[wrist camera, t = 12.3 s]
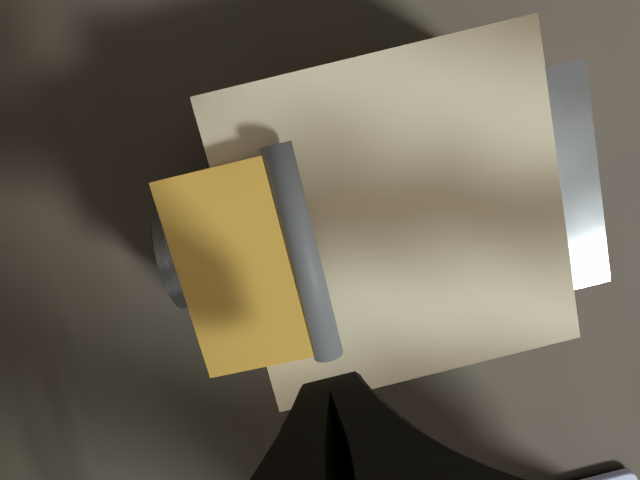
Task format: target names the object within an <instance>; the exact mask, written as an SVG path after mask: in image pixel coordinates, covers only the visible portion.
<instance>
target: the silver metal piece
mask: <svg viewBox="0 0 640 480" xmlns="http://www.w3.org/2000/svg"><path fill="white" fill-rule="evenodd" d="M545 70H546V78H547V85H548V93H549V101H550V109H551V116H552V124H553V132H554V139H555V147H556V155H557V163H558V170H559V178H560V186H561V193H562V201H563V209H564V217H565V224H566V232H567V240H568V247H569V255H570V263H571V271H572V278H573V286H574V290H577V289H581V288H585V287H589V286H593V285H597V284H601V283H605V282H609V281H611V277H610V268H609V259H608V250H607V241H606V232H605V223H604V214H603V205H602V196H601V187H600V178H599V169H598V160H597V151H596V142H595V133H594V124H593V115H592V107H591V98H590V89H589V80H588V71H587V62H586V58H584V59H579V60H575V61H571V62H567V63H563V64H559V65H555V66H551V67H547V68H545ZM151 230H152V242H153V249H154V254H155V258H156V262H157V266H158V269H159V272H160V275H161V278H162V281H163V283H164V286H165V288H166V290H167V292H168V294H169V296H170V297H171V299H172V300H173V302H174V303H175V304H176V305H177V306H178V307H179V308H181V309H186V308H188V306H187V303H186V300H185V297H184V294H183V291H182V287H181V284H180V281H179V278H178V275H177V271H176V268H175V265H174V262H173V259H172V256H171V252H170V249H169V246H168V243H167V240H166V237H165V233H164V230H163V227H162V224H161V221H160V217H159V214H158V211H157V208H156V209H155V211H154V213H153V216H152V226H151Z"/></svg>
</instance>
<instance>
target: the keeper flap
mask: <svg viewBox="0 0 640 480" xmlns="http://www.w3.org/2000/svg"><path fill="white" fill-rule="evenodd" d="M259 149H260V153H261V156H256V157H252V158H248V159H244V160H240V161H236V162H232V163H228V164H224V165H219V166H215V167H211V168H207V169H203V170H199V171H195V172H191V173H186V174H182V175H178V176H174V177H170V178H166V179H162V180H158V181H154V182H150V183H149V186H150V189H151V192H152V195H153V198H154V202H155V205H156V208H157V211H158V214H159V217H160V221H161V224H162V227H163V230H164V233H165V237H166V240H167V243H168V246H169V249H170V252H171V256H172V259H173V262H174V265H175V268H176V271H177V275H178V278H179V281H180V284H181V287H182V291H183V294H184V297H185V300H186V303H187V306H188V310H189V313H190V316H191V319H192V322H193V325H194V329H195V332H196V335H197V338H198V341H199V345H200V348H201V351H202V354H203V357H204V360H205V364H206V367H207V370H208V373H209V376H210V378H213V377H218V376H223V375H228V374H233V373H238V372H243V371H248V370H253V369H257V368H262V367H267V366H272V365H277V364H282V363H287V362H292V361H297V360H302V359H307V358H311V357H314V359H315V361H317V362H320V363H325V362H331V361H334V360H336V359H338V358H339V357H341V356H342V354H343V349H342V344H341V340H340V336H339V332H338V328H337V324H336V320H335V316H334V312H333V308H332V304H331V300H330V296H329V292H328V288H327V283H326V279H325V275H324V271H323V267H322V263H321V259H320V255H319V251H318V247H317V243H316V239H315V235H314V231H313V227H312V222H311V218H310V214H309V210H308V206H307V202H306V198H305V194H304V190H303V186H302V182H301V178H300V174H299V170H298V166H297V161H296V157H295V153H294V149H293V145H292V141H287V142H283V143H279V144H275V145H271V146H267V147H262V148H259Z"/></svg>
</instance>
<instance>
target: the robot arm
mask: <svg viewBox="0 0 640 480" xmlns="http://www.w3.org/2000/svg"><path fill="white" fill-rule="evenodd" d="M250 480H525V479H522V478H519V477H516V476H513V475H510V474H507V473H504V472H501V471H499V470H496V469H493V468H491V467H488V466H486V465H483V464H481V463H479V462H477V461H474V460H472V459H470V458H468V457H466V456H463V455H461V454H459V453H457V452H455V451H453V450H451V449H449V448H447V447H446V446H444V445H442V444H441V443H439V442H437V441H435V440H434V439H432V438H431V437H429V436H428V435H426V434H425V433H423V432H422V431H420V430H419V429H417V428H416V427H415V426H413V425H412V424H411V423H409V422H408V421H407V420H405V419H404V418H403V417H402V416H400V415H399V414H398V413H397V412H396V411H394V410H393V409H392V408H391V407H390V406H389V405H388V404H387V403H385V402H384V401H383V400H382V399H381V398H380V397H379V396H378V395H377V394H376V393H375V392H374V391H373V390H372V389H371V388H370V386H369V385H368V384H367V383H366V382H365V381H364V379H363V378H362V376H361V375H360V374H359V373H357V372H356V371H353V372H349V373H345V374H341V375H337V376H333V377H329V378H325V379H321V380H317V381H313V382H309V383H305V384H303V385H302V387H301V388H300V390H299V392H298V394H297V397H296V399H295V401H294V404H293V406H292V408H291V410H290V412H289V414H288V416H287V418H286V420H285V422H284V424H283V426H282V428H281V430H280V432H279V434H278V435H277V437H276V439H275V441H274V443H273V444H272V446H271V447H270V449H269V451H268V452H267V454H266V456H265V457H264V459H263V460H262V462H261V464H260V465H259V467H258V468H257V470H256V471H255V473H254V474H253V476H252V477H251V478H250ZM581 480H638V479H637V476H636V475H635V474H634V473H633V472H632V471H631V470H629V469H620V470H616V471H612V472H608V473H605V474H601V475H597V476H593V477H589V478H585V479H581Z"/></svg>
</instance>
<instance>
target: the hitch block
mask: <svg viewBox="0 0 640 480" xmlns="http://www.w3.org/2000/svg"><path fill="white" fill-rule="evenodd" d="M190 100H191V103H192V107H193V110H194V114H195V117H196V121H197V125H198V128H199V132H200V135H201V139H202V142H203V146H204V149H205V153H206V156H207V160H208V163H209V167H210V168H211V167H215V166H219V165H224V164H228V163H232V162H236V161H240V160H244V159H248V158H252V157H256V156H261V153H260V149H259V148H262V147H267V146H271V145H275V144H279V143H283V142H287V141H292V145H293V149H294V153H295V157H296V161H297V166H298V170H299V174H300V178H301V182H302V186H303V190H304V194H305V198H306V202H307V206H308V210H309V214H310V218H311V222H312V227H313V231H314V235H315V239H316V243H317V247H318V251H319V255H320V259H321V263H322V267H323V271H324V275H325V279H326V283H327V288H328V292H329V296H330V300H331V304H332V308H333V312H334V316H335V320H336V324H337V328H338V332H339V336H340V340H341V344H342V349H343V354H342V356H341V357H339V358H338V359H336V360H334V361H331V362H325V363H320V362H317V361H315V359H314V357H311V358H307V359H302V360H297V361H292V362H287V363H282V364H277V365H272V366H267V370H268V373H269V377H270V380H271V384H272V387H273V391H274V394H275V398H276V401H277V405H278V408H279V412H283V411H287V410H291V408H292V406H293V404H294V401H295V399H296V397H297V394H298V392H299V390H300V388H301V387H302V385H303V384H305V383H309V382H313V381H317V380H321V379H325V378H329V377H333V376H337V375H341V374H345V373H349V372H353V371H356V372H357V373H359V374H360V375H361V376H362V378H363V379H364V381H365V382H366V383H367V384H368V385H369V386H370V388H371V389H375V388H379V387H383V386H387V385H391V384H395V383H399V382H403V381H407V380H411V379H415V378H419V377H423V376H427V375H431V374H435V373H439V372H443V371H447V370H451V369H455V368H459V367H463V366H467V365H471V364H475V363H479V362H483V361H487V360H491V359H495V358H499V357H503V356H507V355H511V354H515V353H519V352H523V351H527V350H531V349H535V348H539V347H543V346H547V345H551V344H555V343H559V342H563V341H567V340H571V339H575V338H579V337H580V332H579V325H578V317H577V309H576V301H575V294H574V286H573V278H572V271H571V263H570V255H569V247H568V240H567V232H566V224H565V217H564V209H563V201H562V193H561V186H560V178H559V170H558V163H557V155H556V147H555V139H554V132H553V124H552V116H551V109H550V101H549V93H548V85H547V78H546V70H545V62H544V55H543V47H542V39H541V31H540V24H539V16H538V13H534V14H530V15H526V16H522V17H518V18H513V19H509V20H505V21H501V22H497V23H493V24H489V25H485V26H480V27H476V28H472V29H468V30H464V31H460V32H456V33H452V34H447V35H443V36H439V37H435V38H431V39H427V40H423V41H419V42H414V43H410V44H406V45H402V46H398V47H394V48H390V49H386V50H381V51H377V52H373V53H369V54H365V55H361V56H357V57H353V58H348V59H344V60H340V61H336V62H332V63H328V64H324V65H320V66H315V67H311V68H307V69H303V70H299V71H295V72H291V73H287V74H282V75H278V76H274V77H270V78H266V79H262V80H258V81H254V82H249V83H245V84H241V85H237V86H233V87H229V88H225V89H221V90H216V91H212V92H208V93H204V94H200V95H196V96H192V97H190Z"/></svg>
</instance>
